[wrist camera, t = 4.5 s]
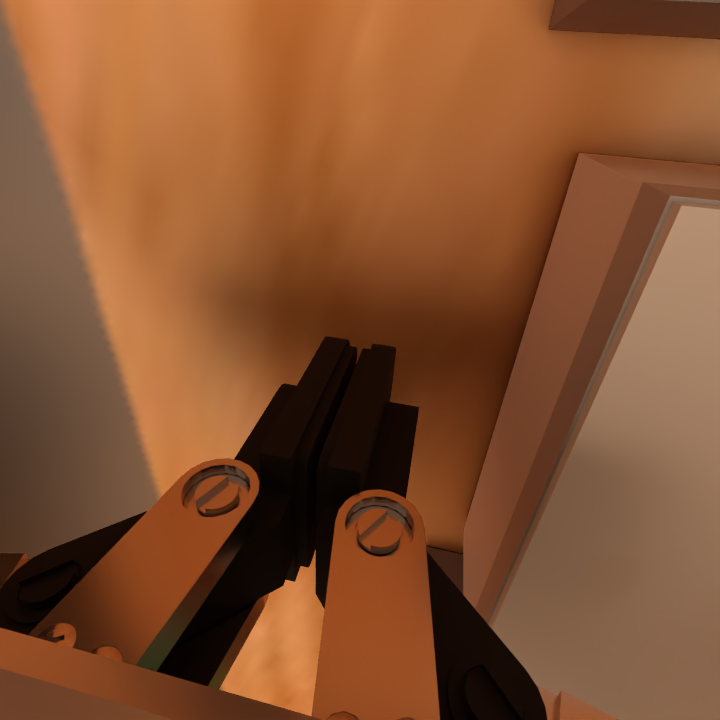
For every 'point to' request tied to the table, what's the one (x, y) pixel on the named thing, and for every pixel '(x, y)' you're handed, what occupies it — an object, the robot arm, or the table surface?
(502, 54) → the table surface
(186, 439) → the table surface
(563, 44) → the table surface
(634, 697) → the brown and beige block
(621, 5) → the bay
